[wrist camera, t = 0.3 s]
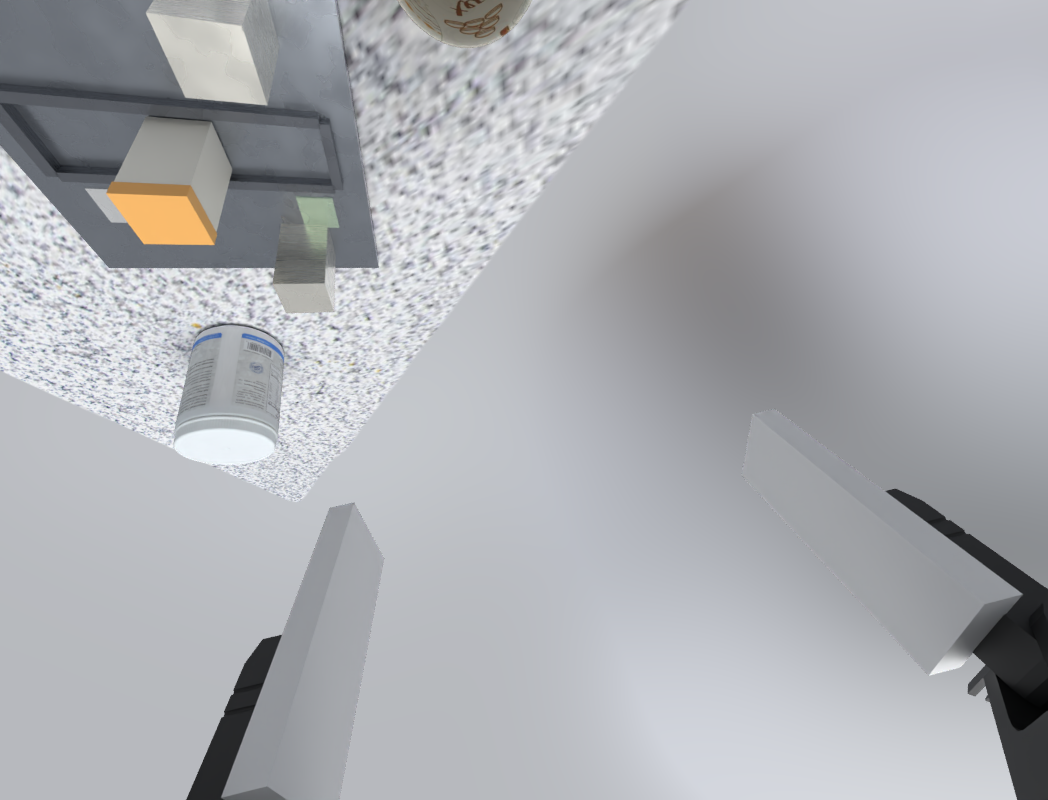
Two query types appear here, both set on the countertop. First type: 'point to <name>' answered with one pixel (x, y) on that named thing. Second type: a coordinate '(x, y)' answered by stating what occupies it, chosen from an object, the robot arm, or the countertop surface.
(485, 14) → the mug
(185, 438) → the supplement tub
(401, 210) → the countertop surface
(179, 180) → the handle
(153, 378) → the countertop surface
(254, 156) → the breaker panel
